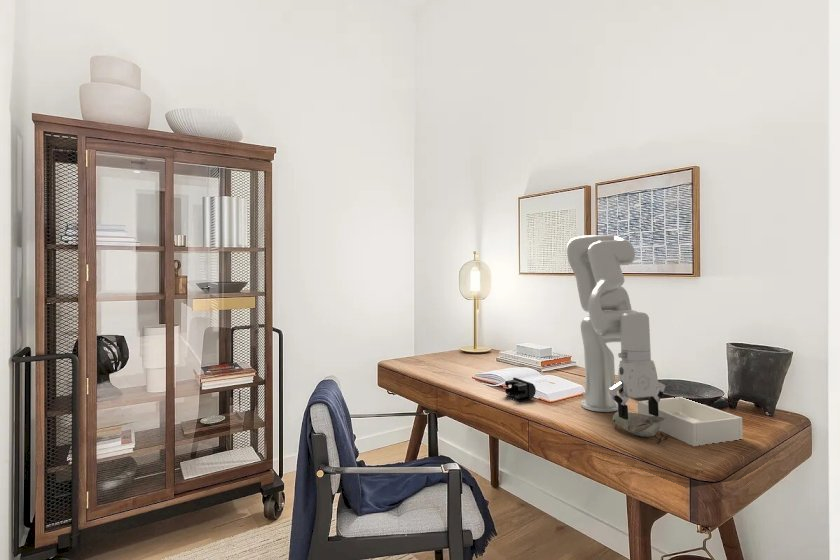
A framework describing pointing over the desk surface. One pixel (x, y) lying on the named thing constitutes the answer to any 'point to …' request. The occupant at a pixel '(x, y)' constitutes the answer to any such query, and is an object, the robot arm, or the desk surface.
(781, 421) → the desk surface
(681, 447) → the desk surface
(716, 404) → the disk drive
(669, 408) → the walled box
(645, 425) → the decorative bird
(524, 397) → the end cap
